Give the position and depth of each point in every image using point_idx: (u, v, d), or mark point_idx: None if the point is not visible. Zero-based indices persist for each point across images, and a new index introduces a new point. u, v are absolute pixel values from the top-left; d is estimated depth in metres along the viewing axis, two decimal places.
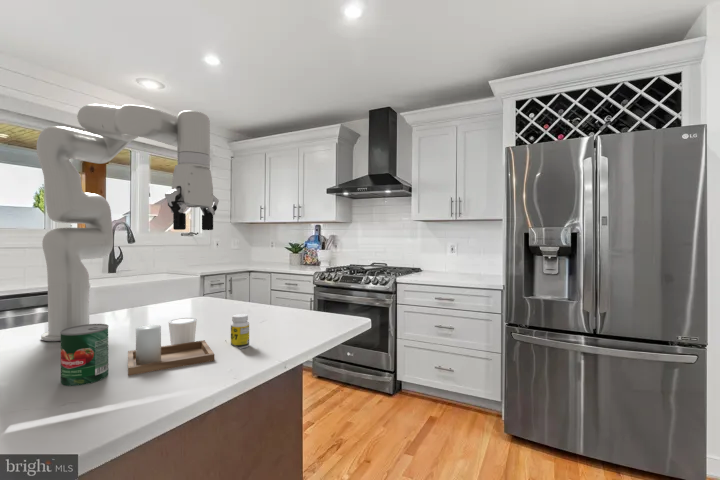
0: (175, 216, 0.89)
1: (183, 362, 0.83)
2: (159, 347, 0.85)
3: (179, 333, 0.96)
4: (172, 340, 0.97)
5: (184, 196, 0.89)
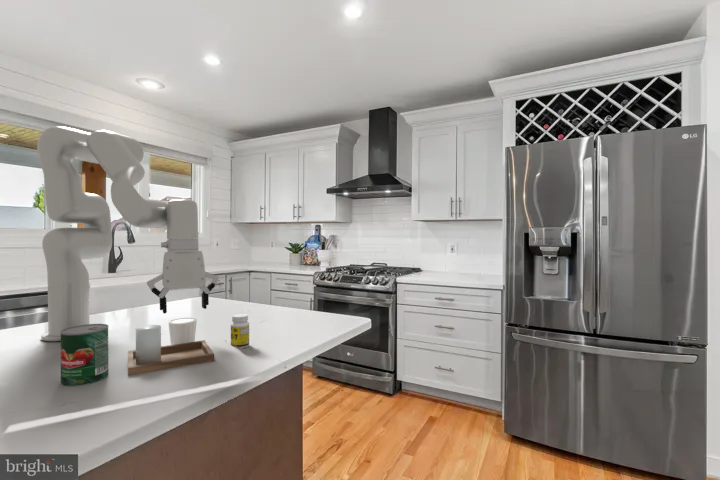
0: None
1: (183, 362, 0.83)
2: (159, 347, 0.85)
3: (179, 333, 0.96)
4: (172, 340, 0.97)
5: None
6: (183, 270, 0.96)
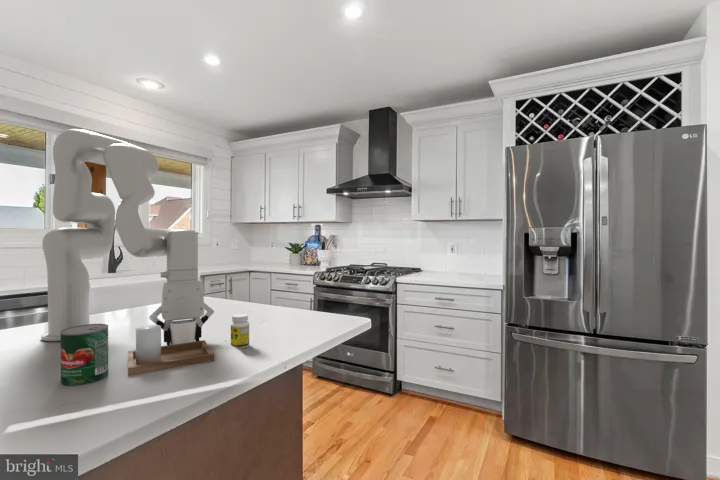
0: None
1: (183, 362, 0.83)
2: (159, 347, 0.85)
3: (179, 333, 0.96)
4: (172, 340, 0.97)
5: None
6: (182, 300, 0.97)
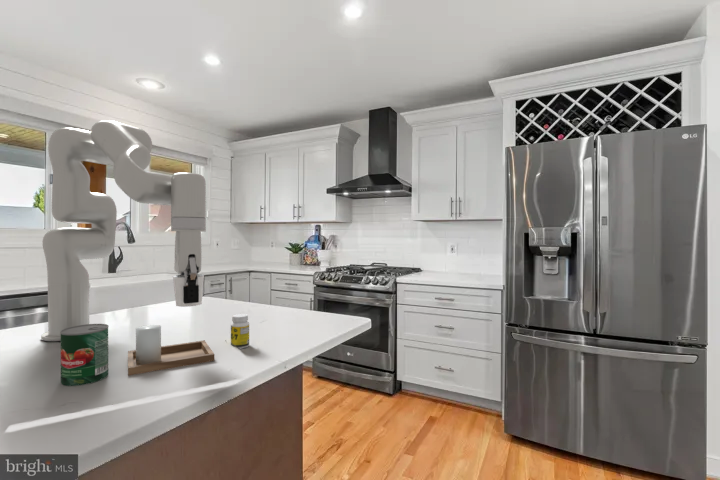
0: (190, 289, 0.85)
1: (183, 362, 0.83)
2: (159, 347, 0.85)
3: None
4: None
5: (199, 265, 0.85)
6: (175, 251, 0.88)
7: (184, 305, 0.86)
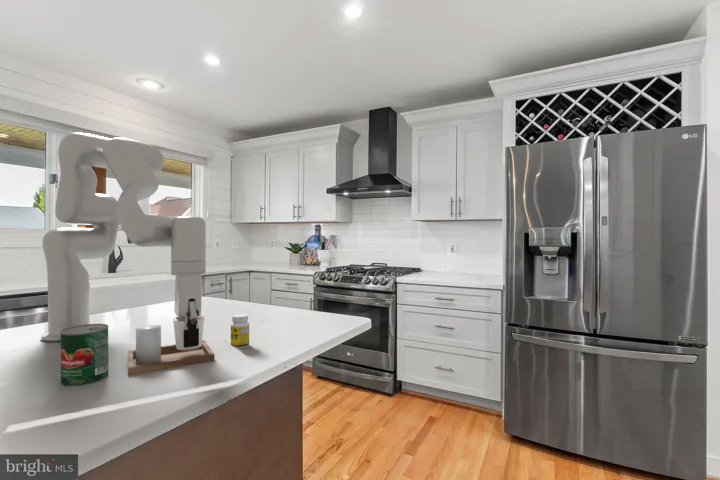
0: (190, 334, 0.85)
1: (183, 362, 0.83)
2: (159, 347, 0.85)
3: None
4: None
5: (199, 308, 0.86)
6: (176, 294, 0.88)
7: (184, 348, 0.86)
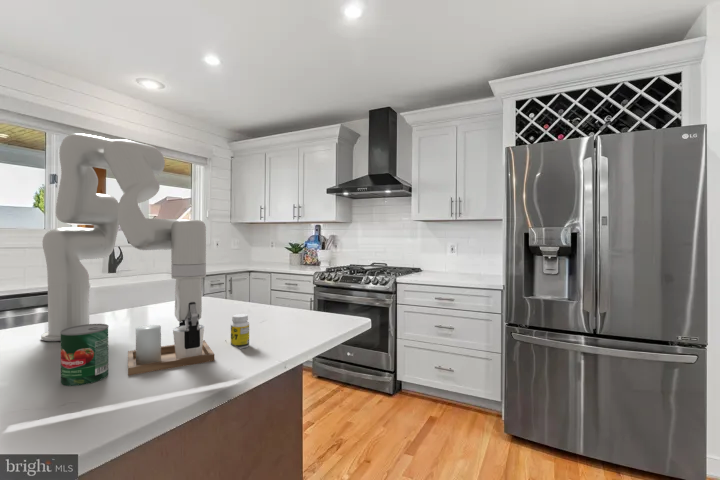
0: (191, 335, 0.84)
1: (183, 362, 0.83)
2: (159, 347, 0.85)
3: None
4: None
5: (199, 312, 0.86)
6: (176, 298, 0.88)
7: None
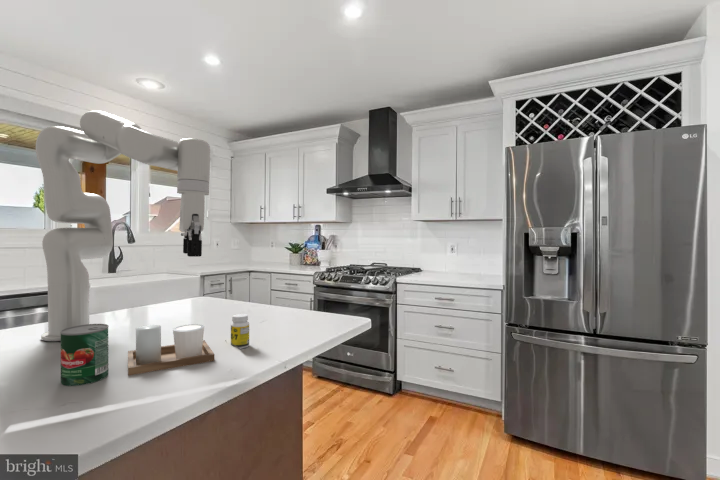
0: (193, 243, 0.91)
1: (183, 362, 0.83)
2: (159, 347, 0.85)
3: None
4: None
5: (202, 224, 0.92)
6: (181, 212, 0.94)
7: None
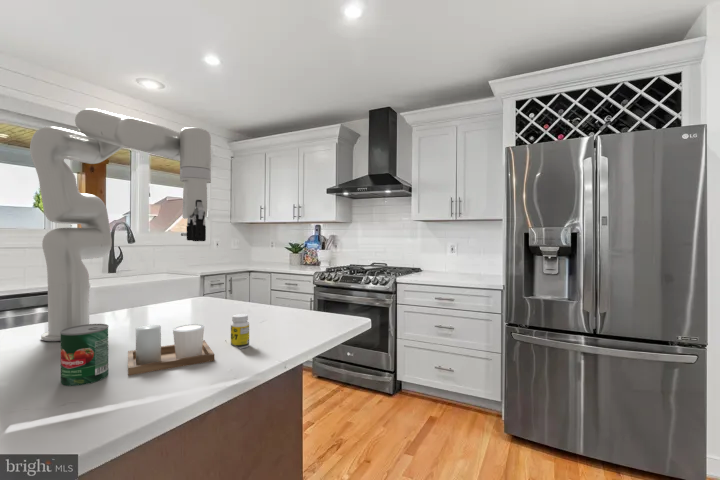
0: (198, 228, 0.94)
1: (183, 362, 0.83)
2: (159, 347, 0.85)
3: None
4: None
5: (205, 210, 0.95)
6: (184, 199, 0.97)
7: None
